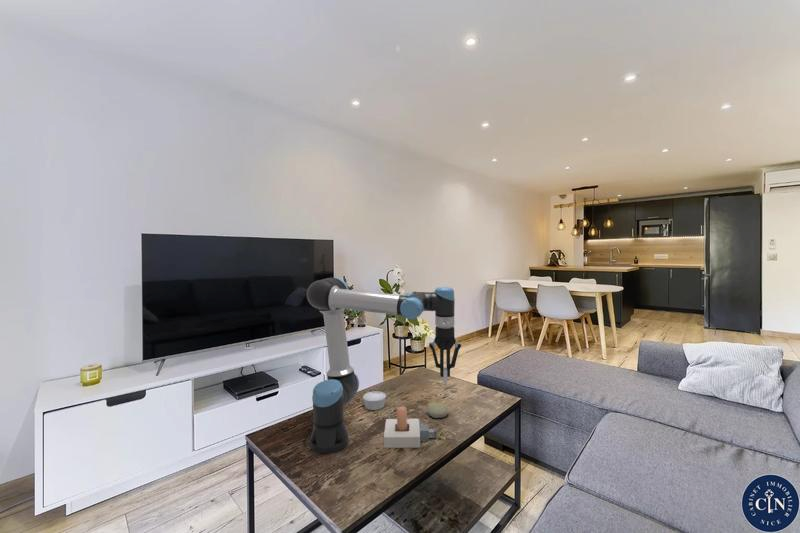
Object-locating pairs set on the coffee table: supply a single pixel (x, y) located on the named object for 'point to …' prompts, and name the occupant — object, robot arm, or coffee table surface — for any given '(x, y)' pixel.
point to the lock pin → (433, 433)
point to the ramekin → (374, 400)
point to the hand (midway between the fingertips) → (445, 384)
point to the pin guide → (424, 432)
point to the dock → (402, 434)
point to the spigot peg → (401, 418)
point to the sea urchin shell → (437, 410)
